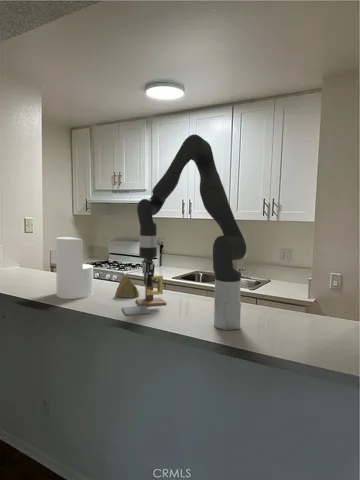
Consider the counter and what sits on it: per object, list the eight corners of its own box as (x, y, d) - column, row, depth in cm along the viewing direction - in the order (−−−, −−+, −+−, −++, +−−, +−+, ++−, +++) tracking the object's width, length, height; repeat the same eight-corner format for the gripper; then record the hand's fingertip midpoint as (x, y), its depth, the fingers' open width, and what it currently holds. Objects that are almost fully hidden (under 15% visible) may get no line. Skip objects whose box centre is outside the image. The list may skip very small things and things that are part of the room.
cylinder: (65, 300, 151) (64, 239, 148) (51, 293, 164) (50, 237, 161) (99, 295, 162) (99, 238, 160) (84, 288, 175) (83, 236, 173)
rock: (144, 291, 162) (130, 285, 168) (138, 279, 157) (124, 273, 163) (130, 307, 157) (116, 301, 162) (124, 295, 151) (109, 289, 157)
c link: (162, 294, 143) (162, 276, 143) (146, 295, 141) (147, 276, 141) (160, 292, 146) (161, 274, 146) (145, 293, 144) (145, 275, 143)
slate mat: (150, 313, 133) (150, 312, 133) (126, 315, 130) (126, 314, 130) (144, 306, 143) (144, 305, 143) (121, 308, 140) (121, 307, 140)
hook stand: (169, 307, 142) (170, 278, 141) (142, 309, 138) (142, 279, 137) (160, 299, 156) (161, 272, 155) (135, 301, 152) (135, 273, 151)
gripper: (161, 247, 136) (160, 288, 137) (152, 244, 149) (152, 281, 150) (143, 247, 133) (143, 289, 135) (136, 244, 147) (135, 282, 148)
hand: (147, 285), depth 142 cm, fingers open, 3 cm apart
